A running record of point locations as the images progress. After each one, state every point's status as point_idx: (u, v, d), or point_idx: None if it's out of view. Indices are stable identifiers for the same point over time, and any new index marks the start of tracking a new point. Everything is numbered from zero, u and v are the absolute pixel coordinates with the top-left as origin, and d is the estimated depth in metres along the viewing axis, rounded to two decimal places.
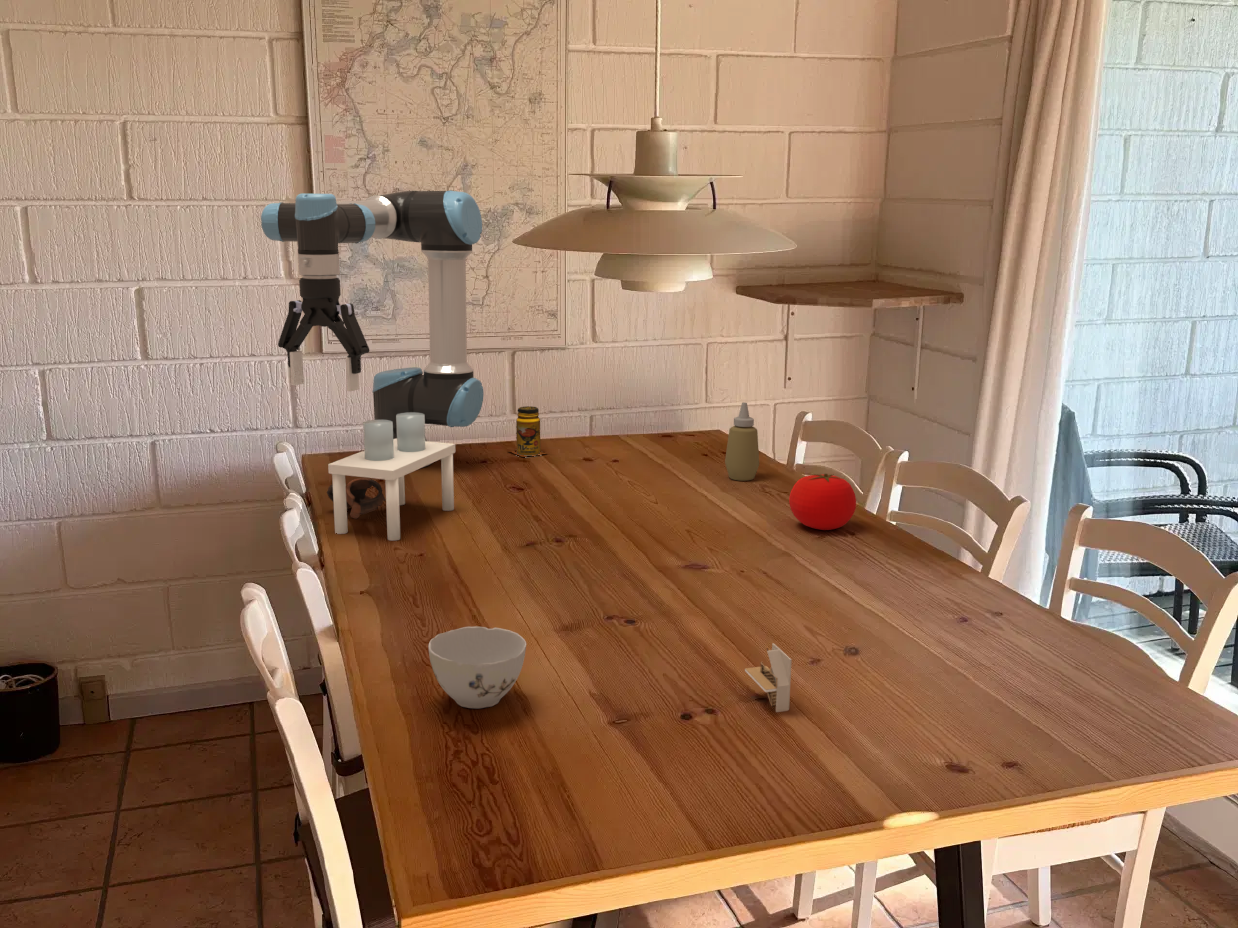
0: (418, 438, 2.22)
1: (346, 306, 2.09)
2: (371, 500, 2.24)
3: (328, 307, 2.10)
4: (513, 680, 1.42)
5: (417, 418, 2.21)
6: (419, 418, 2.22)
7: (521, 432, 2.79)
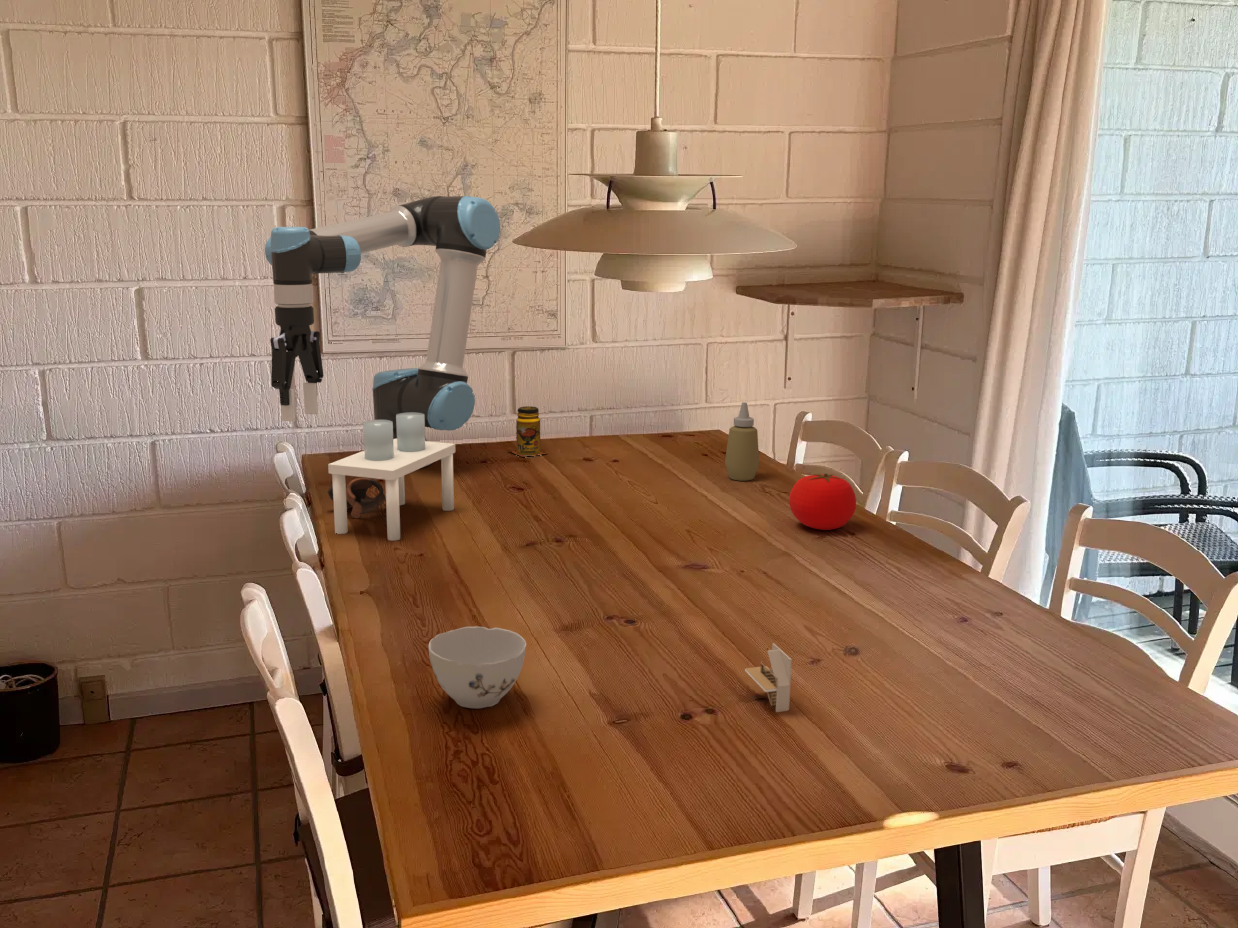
0: (417, 437, 2.22)
1: (272, 340, 2.19)
2: (372, 500, 2.24)
3: None
4: (513, 680, 1.42)
5: (417, 418, 2.21)
6: (419, 418, 2.22)
7: (521, 432, 2.79)
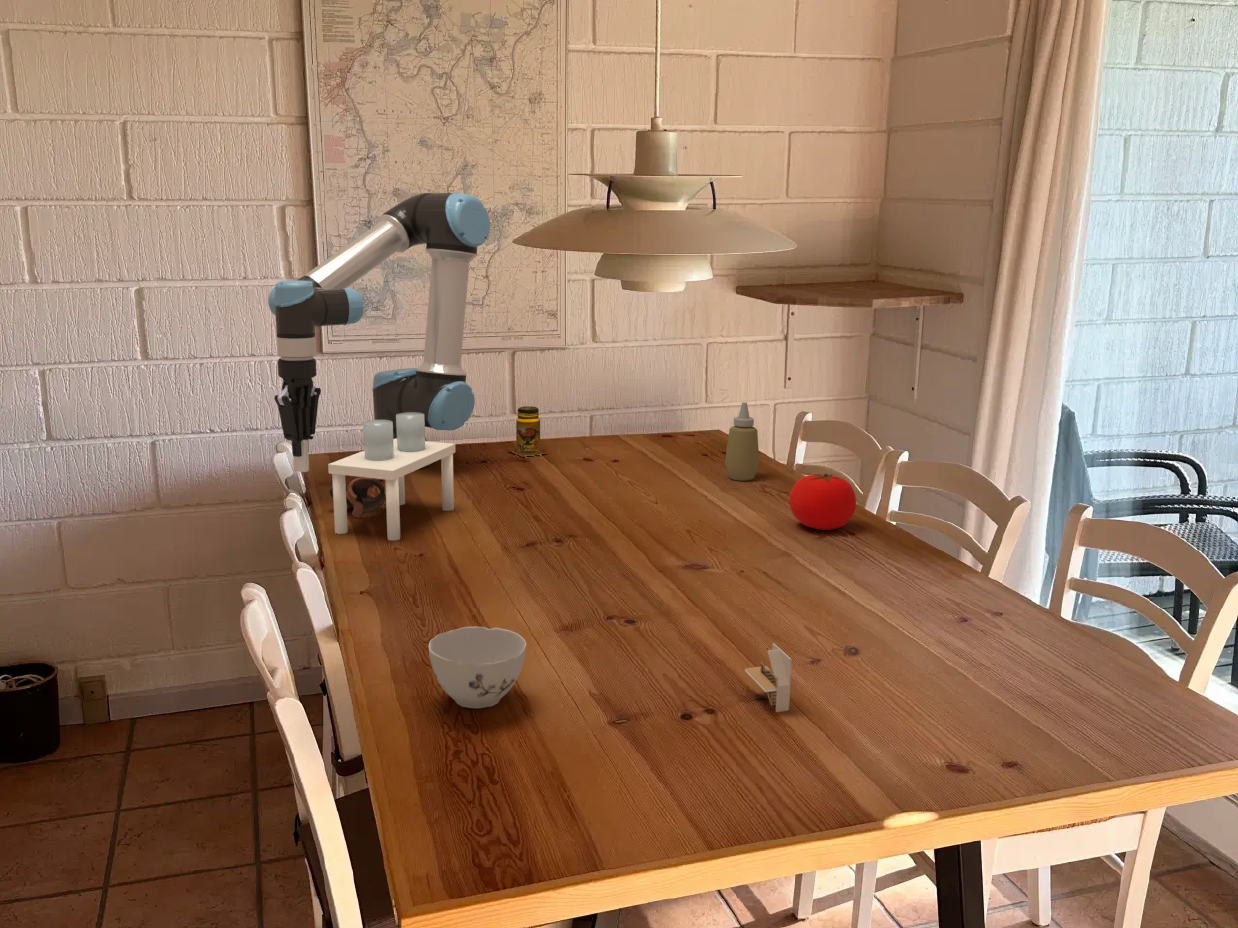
0: (418, 437, 2.22)
1: (276, 399, 2.22)
2: (373, 499, 2.25)
3: None
4: (513, 680, 1.42)
5: (417, 418, 2.21)
6: (419, 418, 2.22)
7: (521, 432, 2.79)
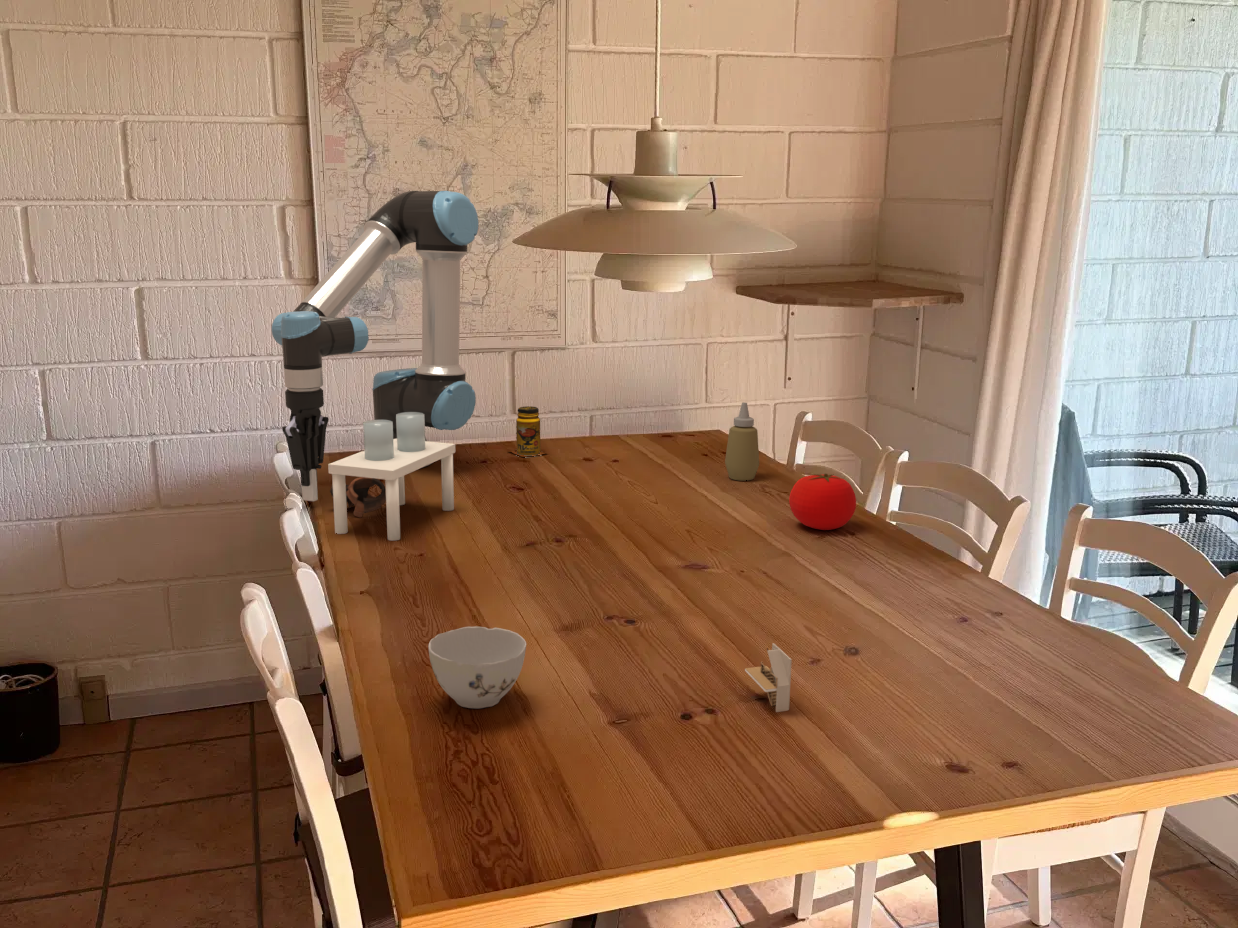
0: (418, 438, 2.22)
1: (284, 430, 2.23)
2: (374, 499, 2.25)
3: None
4: (513, 680, 1.42)
5: (417, 418, 2.21)
6: (419, 418, 2.21)
7: (521, 432, 2.79)
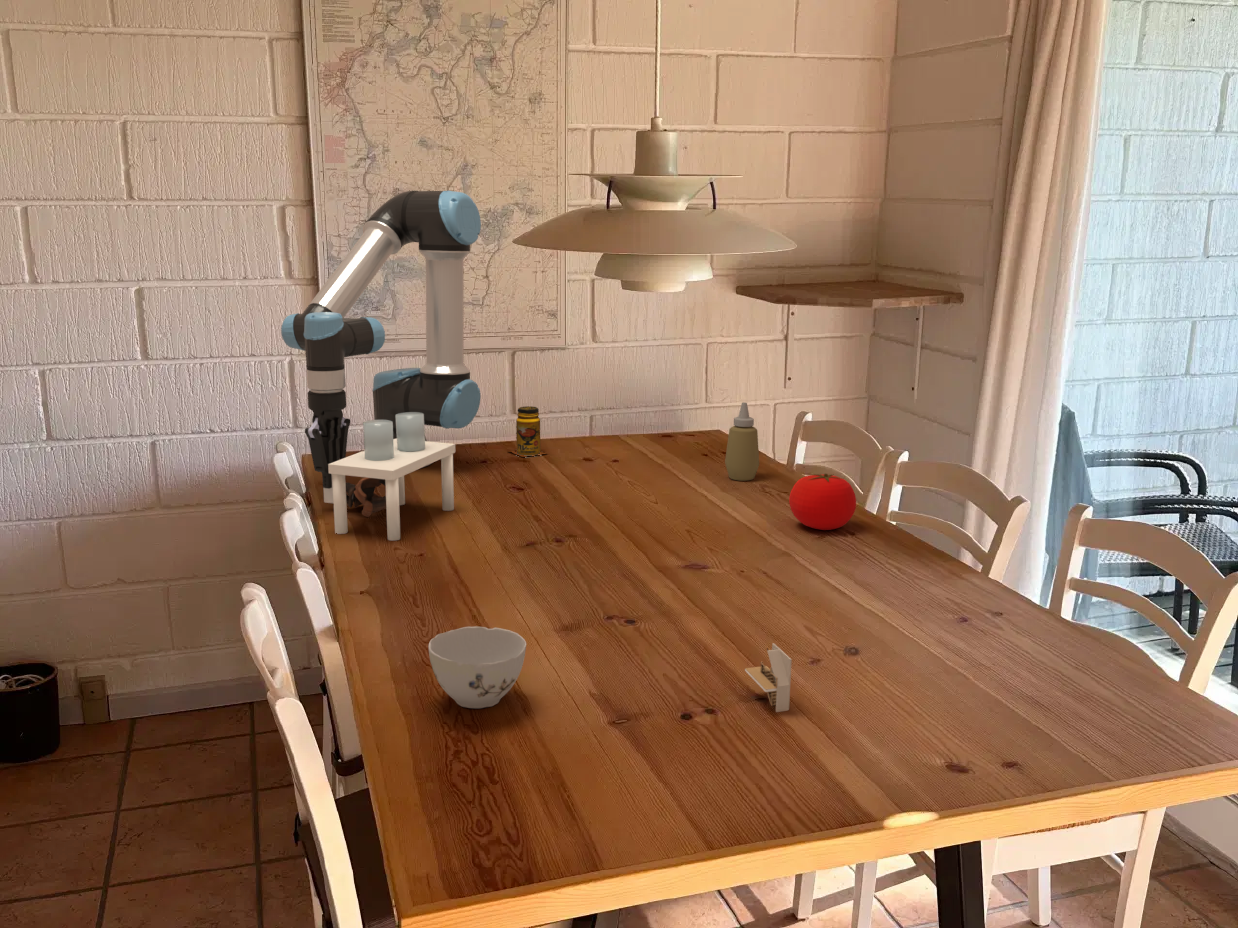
0: (418, 437, 2.22)
1: (306, 432, 2.21)
2: (383, 498, 2.25)
3: None
4: (513, 680, 1.42)
5: (417, 417, 2.21)
6: (419, 417, 2.22)
7: (521, 432, 2.79)
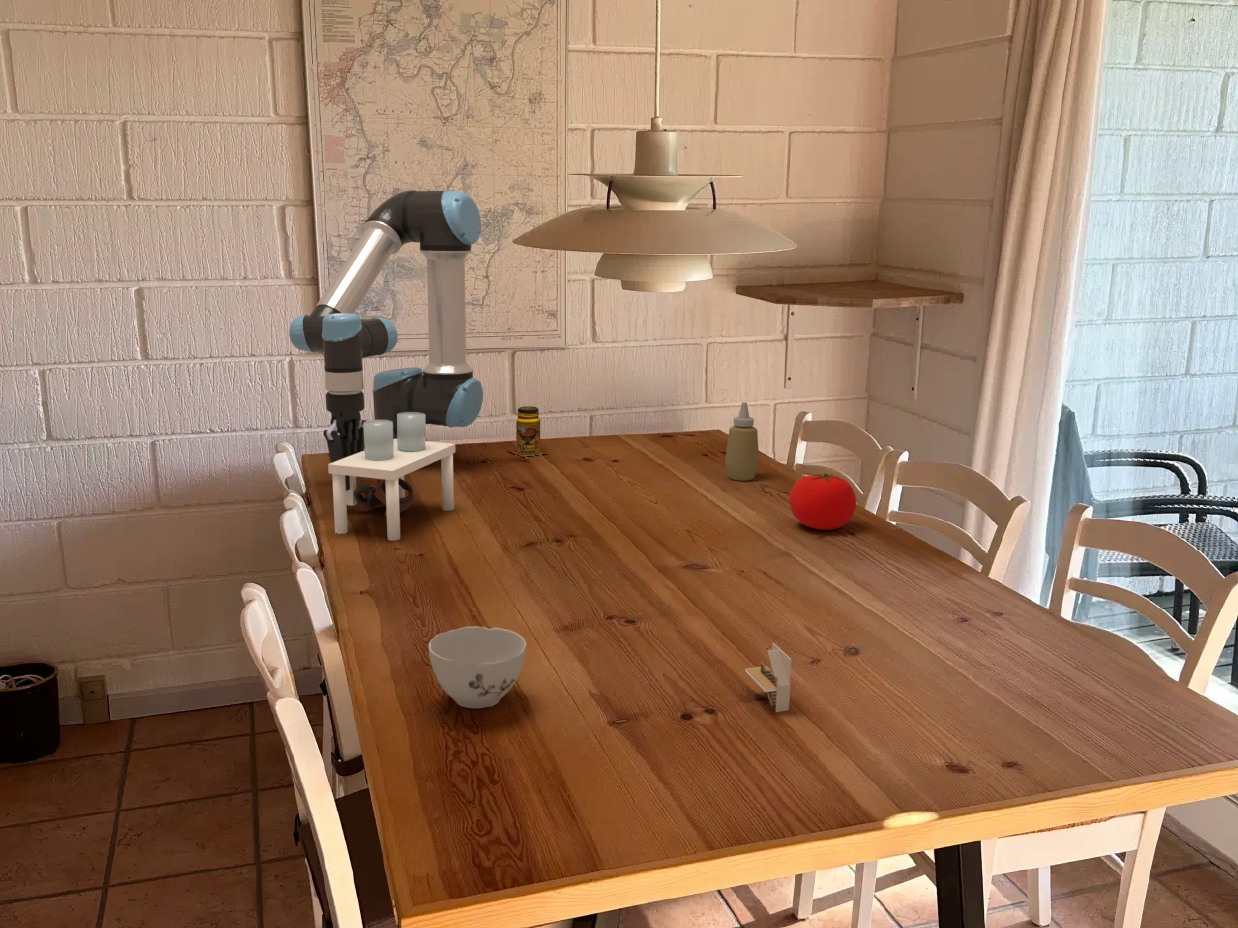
0: (419, 437, 2.22)
1: (325, 434, 2.20)
2: (406, 498, 2.26)
3: None
4: (513, 680, 1.42)
5: (419, 417, 2.21)
6: (421, 417, 2.22)
7: (521, 432, 2.79)
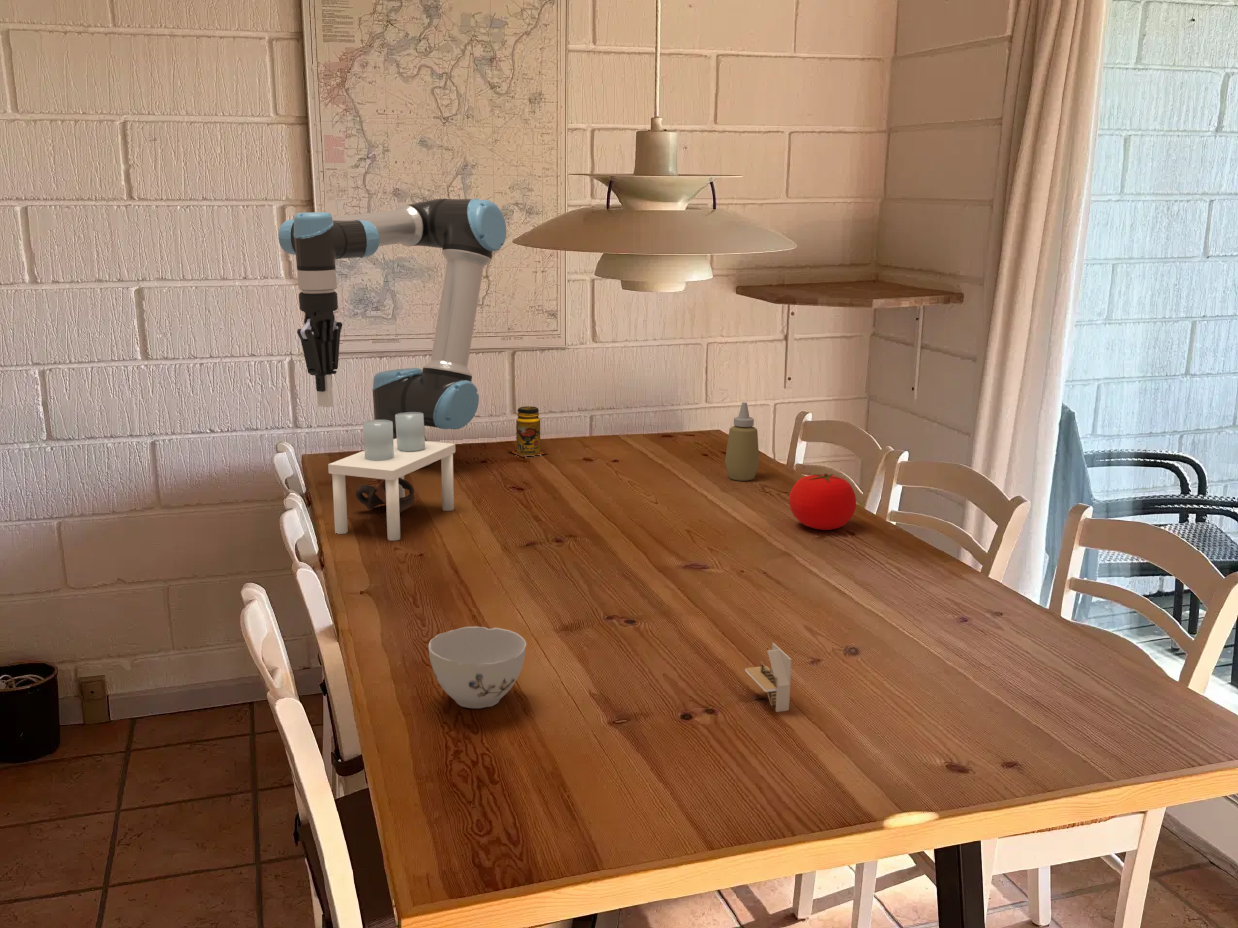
0: (419, 436, 2.22)
1: (299, 333, 2.20)
2: (407, 498, 2.26)
3: None
4: (513, 680, 1.42)
5: (418, 416, 2.22)
6: (420, 416, 2.22)
7: (521, 432, 2.79)
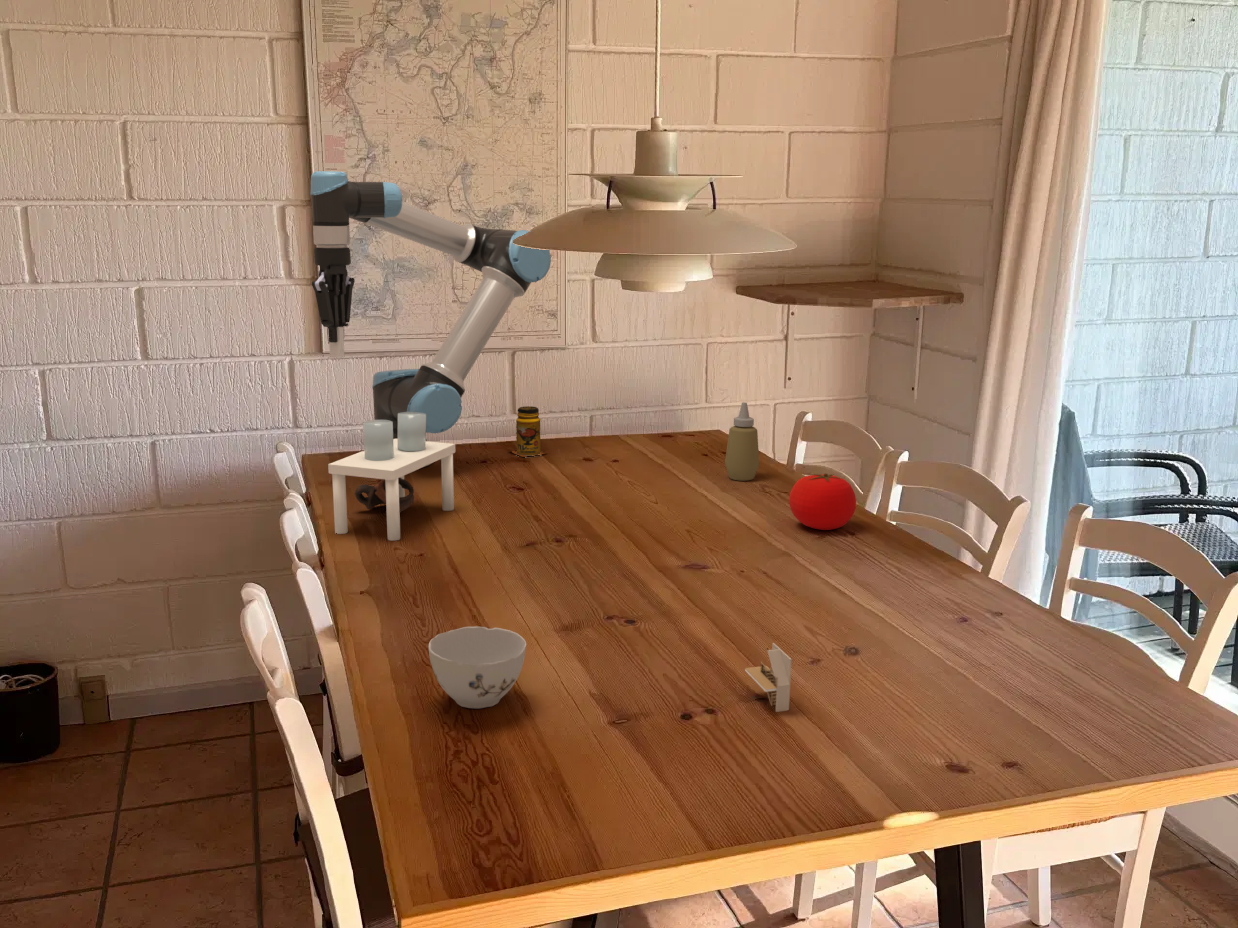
0: (421, 436, 2.23)
1: (313, 284, 2.32)
2: (407, 497, 2.26)
3: None
4: (513, 680, 1.42)
5: (422, 417, 2.22)
6: (423, 417, 2.22)
7: (521, 432, 2.79)
